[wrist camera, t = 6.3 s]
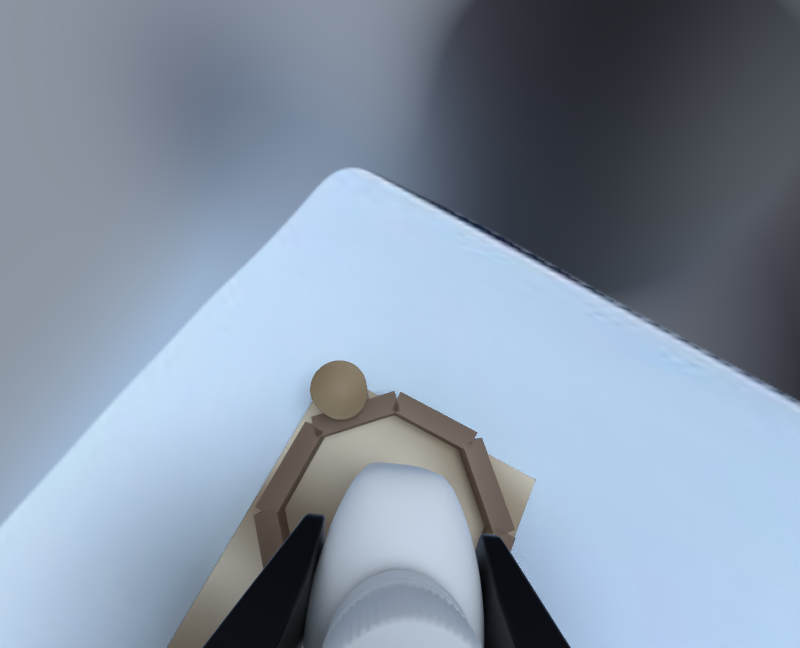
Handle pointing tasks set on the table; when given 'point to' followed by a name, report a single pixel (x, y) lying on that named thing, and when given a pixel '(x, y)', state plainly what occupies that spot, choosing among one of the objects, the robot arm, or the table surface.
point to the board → (336, 470)
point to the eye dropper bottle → (397, 567)
